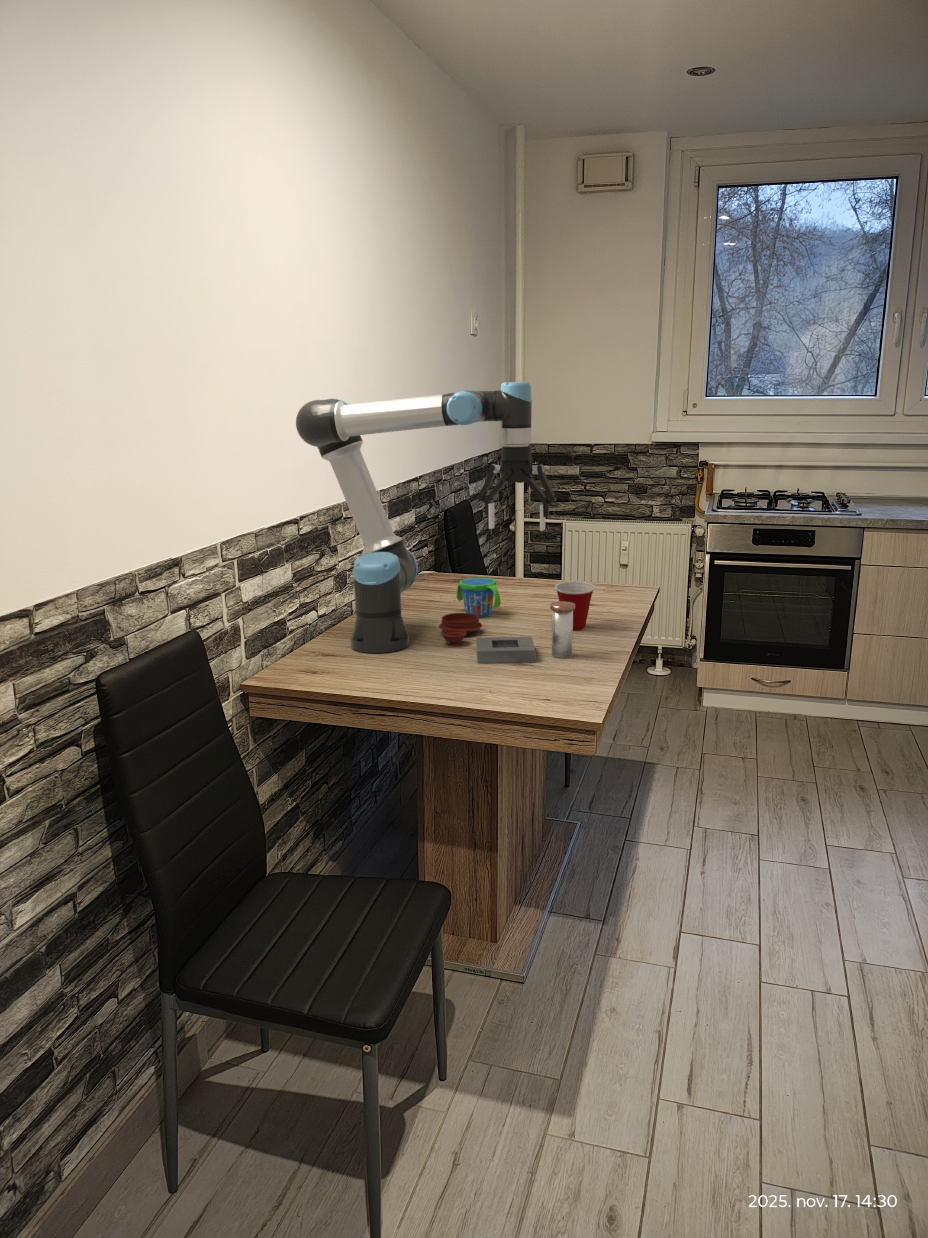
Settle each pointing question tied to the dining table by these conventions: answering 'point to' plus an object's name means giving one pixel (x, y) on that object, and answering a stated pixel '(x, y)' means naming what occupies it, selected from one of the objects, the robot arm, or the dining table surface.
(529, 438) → the robot arm
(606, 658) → the dining table surface
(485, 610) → the snack cup
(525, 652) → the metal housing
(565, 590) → the plastic cup
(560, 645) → the silver copper-capped cylinder
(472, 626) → the pottery
